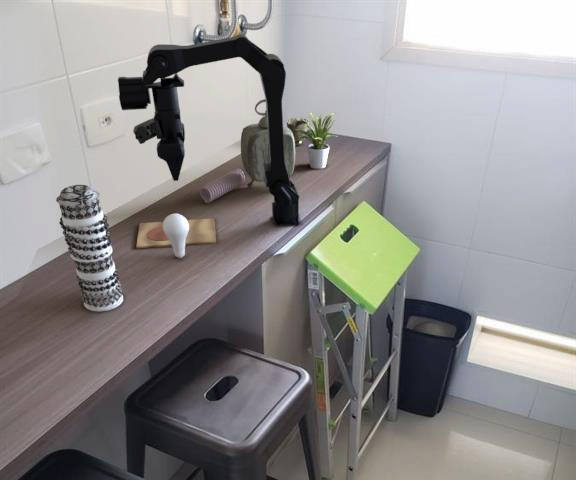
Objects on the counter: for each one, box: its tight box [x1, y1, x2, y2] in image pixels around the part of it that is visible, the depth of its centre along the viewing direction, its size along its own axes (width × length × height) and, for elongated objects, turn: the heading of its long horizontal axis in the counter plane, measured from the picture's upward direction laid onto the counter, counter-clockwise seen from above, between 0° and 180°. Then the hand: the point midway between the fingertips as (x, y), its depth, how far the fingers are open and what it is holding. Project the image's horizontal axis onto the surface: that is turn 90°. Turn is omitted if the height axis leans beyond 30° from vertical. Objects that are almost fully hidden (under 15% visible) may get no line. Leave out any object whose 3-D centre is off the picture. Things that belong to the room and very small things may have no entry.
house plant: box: [295, 111, 338, 170], centre depth 187 cm, size 14×14×16 cm
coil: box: [199, 168, 246, 204], centre depth 174 cm, size 5×5×18 cm
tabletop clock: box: [240, 98, 296, 189], centre depth 169 cm, size 14×9×25 cm, turn 108°
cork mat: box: [135, 217, 217, 249], centre depth 154 cm, size 20×14×1 cm
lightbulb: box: [162, 213, 189, 259], centre depth 141 cm, size 6×6×11 cm
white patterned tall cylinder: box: [55, 184, 124, 313], centre depth 121 cm, size 9×9×25 cm
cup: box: [286, 117, 309, 147], centre depth 206 cm, size 8×7×8 cm
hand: (176, 173), depth 148 cm, fingers open, 9 cm apart
